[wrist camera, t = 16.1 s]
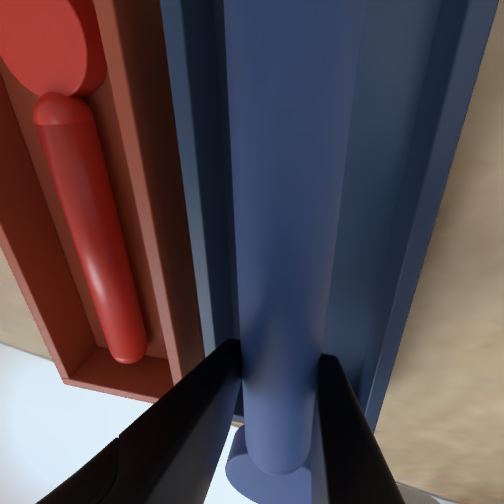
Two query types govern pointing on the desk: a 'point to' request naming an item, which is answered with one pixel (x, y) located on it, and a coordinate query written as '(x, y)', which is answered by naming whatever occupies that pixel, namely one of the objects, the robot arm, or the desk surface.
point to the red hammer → (76, 150)
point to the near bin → (355, 175)
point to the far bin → (128, 209)
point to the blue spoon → (285, 220)
